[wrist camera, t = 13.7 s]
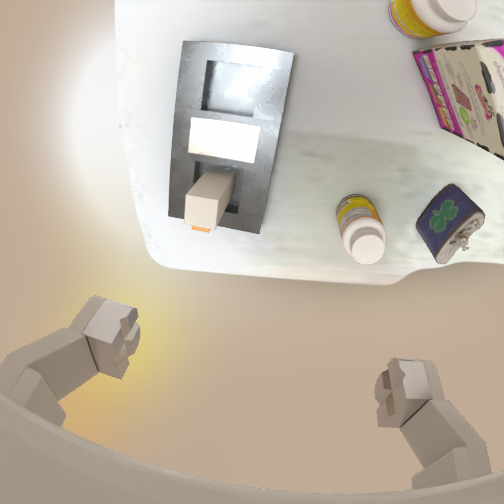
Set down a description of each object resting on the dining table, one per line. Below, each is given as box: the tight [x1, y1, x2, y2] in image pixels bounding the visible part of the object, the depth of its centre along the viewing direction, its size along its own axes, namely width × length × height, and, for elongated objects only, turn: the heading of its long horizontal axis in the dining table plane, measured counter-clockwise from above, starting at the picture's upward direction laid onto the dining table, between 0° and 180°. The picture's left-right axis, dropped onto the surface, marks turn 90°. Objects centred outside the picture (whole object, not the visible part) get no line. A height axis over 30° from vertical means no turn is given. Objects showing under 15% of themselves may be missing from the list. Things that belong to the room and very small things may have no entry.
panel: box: [168, 41, 294, 234], centre depth 38 cm, size 24×13×3 cm, turn 171°
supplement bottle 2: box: [389, 0, 476, 39], centre depth 21 cm, size 7×7×13 cm
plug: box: [184, 167, 236, 233], centre depth 38 cm, size 4×4×10 cm
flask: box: [416, 184, 485, 264], centre depth 35 cm, size 9×3×11 cm, turn 149°
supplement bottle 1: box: [337, 195, 387, 264], centre depth 38 cm, size 6×6×10 cm
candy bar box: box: [412, 39, 504, 160], centre depth 24 cm, size 11×5×16 cm, turn 29°
